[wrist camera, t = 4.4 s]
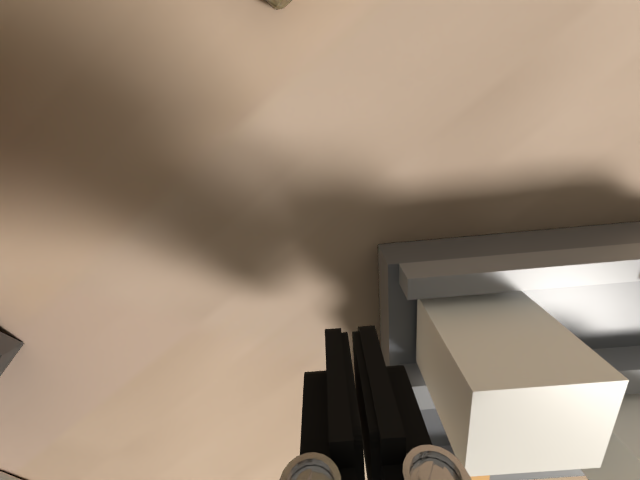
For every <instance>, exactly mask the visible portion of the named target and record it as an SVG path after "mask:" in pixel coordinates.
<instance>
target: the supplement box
mask: <svg viewBox="0 0 640 480" xmlns="http://www.w3.org/2000/svg"><path fill="white" fill-rule="evenodd" d="M0 480H22V479H19V478H16V477H14V476H11V475H9V474H6V473H4V472H1V471H0Z"/></svg>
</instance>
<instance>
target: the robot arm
mask: <svg viewBox="0 0 640 480" xmlns="http://www.w3.org/2000/svg"><path fill="white" fill-rule="evenodd" d="M352 335H353V353H354V370H355V381H354V374H353V367H352V360H351V353H350V346H349V339H348V333H347V332H343V333H341V328H337V329H325V345H326V371H315V372H305V374H304V388H303V407H302V426H301V445H300V455H299V456H297V457H296V458H294V459H293V460H292V461H291V462H289V464H288V465H287V466H286V468H285V469H284V470H283V473H282V475H281V478H280V480H365V473H364V457H365V464H366V471H367V478H368V480H472V479H471V477H470V476H469V474H468V472H467V471H466V469H465V467H464V466H463V465H462V463H461V462H460V461H459V459H458V458H456V457H455V456H454V455H453V454H452V453H451V452H449V451H447V450H445V449H443V448H441V447H439V446H434V445H432V442H431V439H430V436H429V434H428V431H427V428H426V425H425V422H424V419H423V417H422V414H421V411H420V408H419V405H418V403H417V400H416V397H415V394H414V391H413V389H412V386H411V383H410V380H409V377H408V375H407V372H406V369H405V367H404V366H403V365H397V366H386V365H385V361H384V357H383V354H382V350H381V347H380V343H379V340H378V336H377V332H376V329H375V326H363V327H358V331H356V332H352ZM355 387H356V388H355ZM363 450H364V454H363Z"/></svg>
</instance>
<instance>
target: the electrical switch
mask: <svg viewBox="0 0 640 480" xmlns="http://www.w3.org/2000/svg"><path fill="white" fill-rule="evenodd" d="M23 344H24V343H23V342H21V341H19V340H17V339H15V338H13V337H11V336H8V335H6V334H4V333H2V332H0V376H1V374H2V373H3V372H4V370H5V369H6V368H7V366H8V365H9V363H10V362H11V361H12V359H13V358H14V357H15V355H16V354H17V352H18V351H19V350H20V348H21V347H22V346H23Z"/></svg>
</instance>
